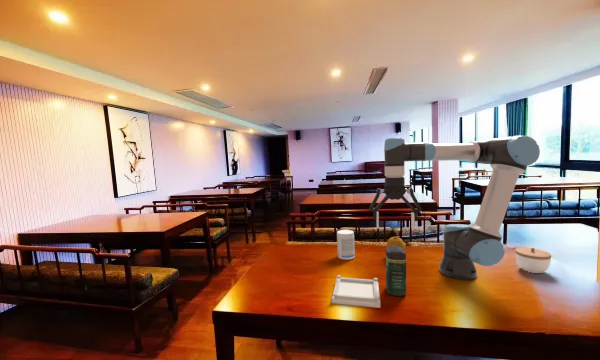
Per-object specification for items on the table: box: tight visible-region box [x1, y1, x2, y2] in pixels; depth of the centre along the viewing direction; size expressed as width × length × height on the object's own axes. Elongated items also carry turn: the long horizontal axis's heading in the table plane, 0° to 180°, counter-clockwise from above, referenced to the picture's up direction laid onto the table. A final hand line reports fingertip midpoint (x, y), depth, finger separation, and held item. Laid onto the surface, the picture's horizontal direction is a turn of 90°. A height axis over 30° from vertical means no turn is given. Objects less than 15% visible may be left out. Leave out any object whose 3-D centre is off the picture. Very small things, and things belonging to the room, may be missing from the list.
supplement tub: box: [336, 229, 356, 261], centre depth 148 cm, size 10×10×15 cm
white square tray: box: [331, 274, 381, 309], centre depth 108 cm, size 18×18×3 cm
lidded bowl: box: [514, 247, 552, 274], centre depth 123 cm, size 13×13×11 cm
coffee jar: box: [385, 245, 407, 297], centre depth 108 cm, size 10×8×19 cm
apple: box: [386, 236, 406, 251], centre depth 145 cm, size 10×10×12 cm
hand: (395, 228), depth 107 cm, fingers open, 13 cm apart
